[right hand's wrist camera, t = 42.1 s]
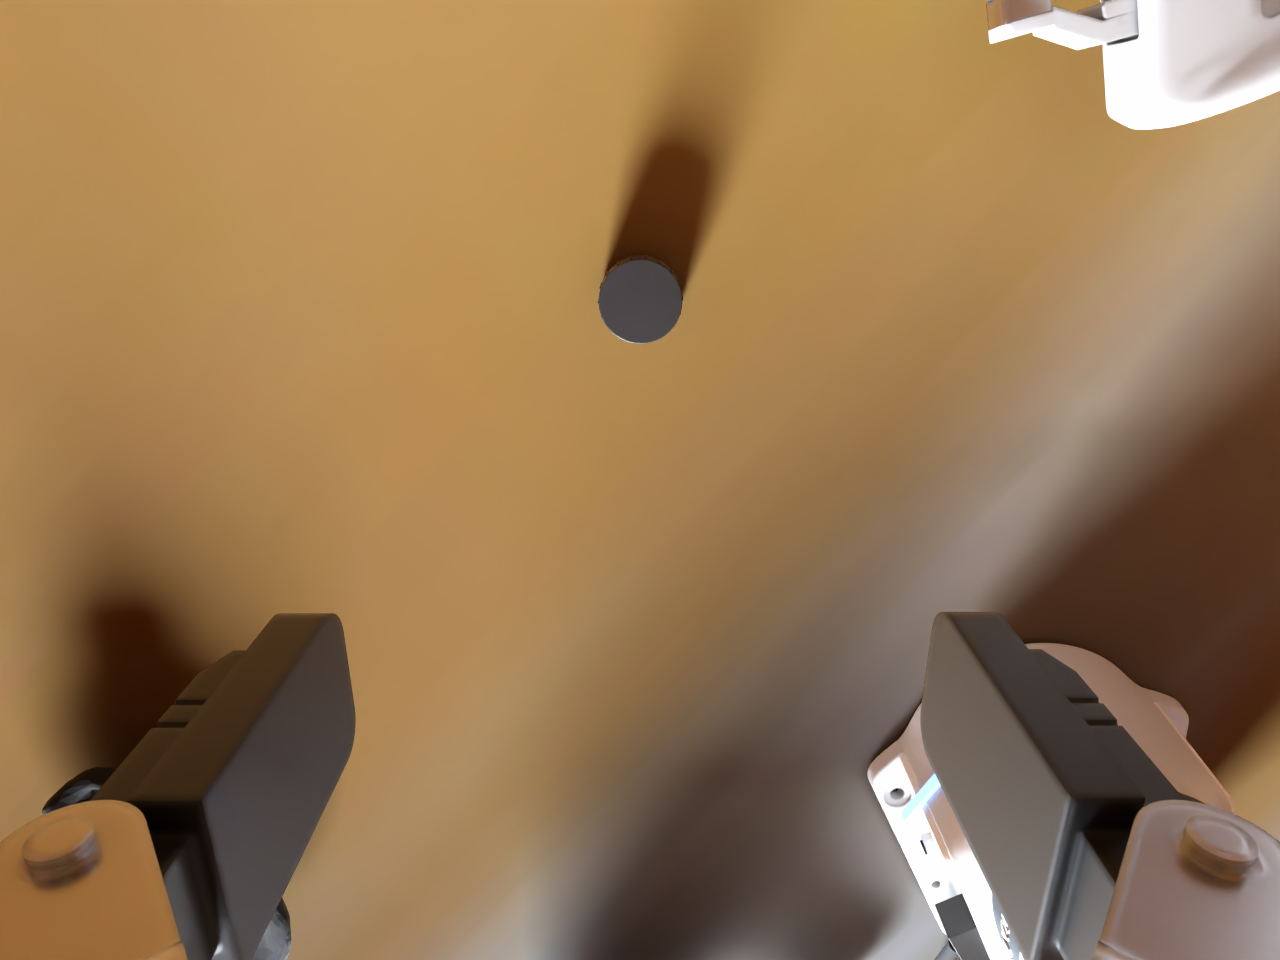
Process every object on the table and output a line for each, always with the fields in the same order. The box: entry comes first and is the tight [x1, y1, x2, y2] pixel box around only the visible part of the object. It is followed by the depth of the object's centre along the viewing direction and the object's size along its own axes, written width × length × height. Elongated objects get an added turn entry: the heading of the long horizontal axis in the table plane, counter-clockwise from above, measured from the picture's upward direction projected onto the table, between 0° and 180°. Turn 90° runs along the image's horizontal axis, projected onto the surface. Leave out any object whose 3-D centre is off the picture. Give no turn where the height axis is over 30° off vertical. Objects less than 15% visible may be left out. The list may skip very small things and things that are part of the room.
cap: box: [598, 254, 683, 344], centre depth 41 cm, size 4×4×2 cm
